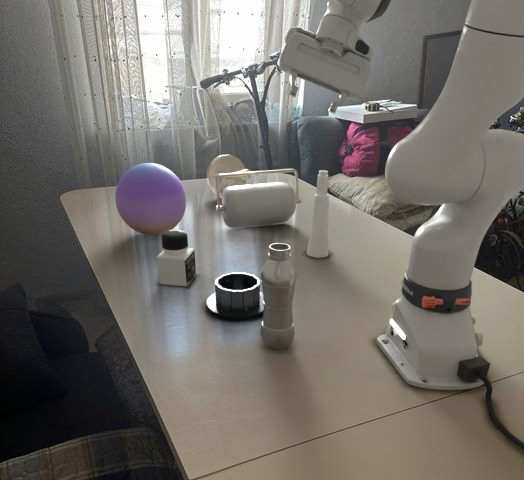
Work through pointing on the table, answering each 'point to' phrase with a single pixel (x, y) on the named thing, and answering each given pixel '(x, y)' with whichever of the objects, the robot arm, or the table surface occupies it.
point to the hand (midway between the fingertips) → (312, 103)
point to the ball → (150, 199)
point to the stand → (236, 298)
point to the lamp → (250, 194)
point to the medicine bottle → (176, 259)
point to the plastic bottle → (278, 297)
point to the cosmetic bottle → (320, 219)
